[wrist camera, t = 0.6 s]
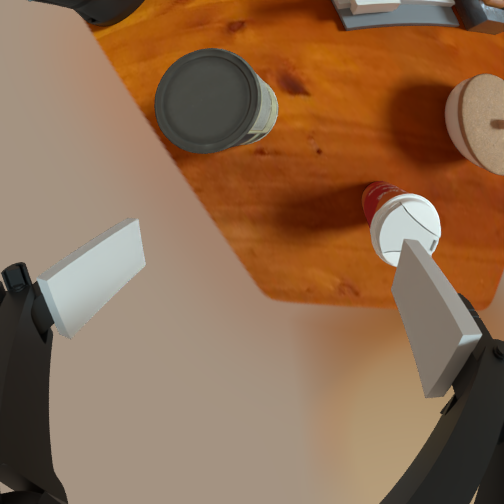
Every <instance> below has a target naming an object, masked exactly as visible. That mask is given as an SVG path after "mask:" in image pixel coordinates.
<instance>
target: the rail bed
mask: <svg viewBox="0 0 504 504" xmlns="http://www.w3.org/2000/svg"><path fill="white" fill-rule="evenodd" d="M331 1H332V3H333V5H334V7H335V9H336V11H337V13H338V15H339V17H340V19H341V21H342V23H343V25H344V27H345V29H346V31H350V30H357V29H366V28H376V27H389V26H448V27H458V26H459V23H458V20H457V18H456V16H455V14H454V12H453V10H452V8H451V7H452V6H453V5H454V4H455V2H454V0H400V2H401V4H400V5H399V6H398V8H397V9H396V10H394V11H393V12H377V13H364V14H355V15H353V14H352V12H351V10H350V8H351V3H350V1H349V0H331Z"/></svg>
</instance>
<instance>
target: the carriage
mask: <svg viewBox="0 0 504 504" xmlns="http://www.w3.org/2000/svg"><path fill="white" fill-rule="evenodd" d="M349 1H350V3H351V8H350V10H351V12H352V14H353V15H355V14H364V13H377V12H393V11H394V10H396V9H397V8H398V6H399V5H400V4H401V2H400V0H349Z"/></svg>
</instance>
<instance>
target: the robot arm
mask: <svg viewBox="0 0 504 504" xmlns="http://www.w3.org/2000/svg"><path fill="white" fill-rule="evenodd" d="M28 1H36V2H42V3H48V4H53V5H58V6H62V7H67V8H71V9H74V10H75V11H76V12H77V13H78V14H79V15H80V16H81V17H82V18H83V19H84V20H86V21H87V22H88V23H90V24H93V25H97V26H109V25H113V24H115V23H117V22H119V21H121V20H123V19H124V18H126V17H127V16H129V15H130V14H131V13H132V12H134V11H135V10H136V9H137V8H138V7H139V6H140V5H141V3H142V2H143V1H144V0H28ZM145 265H146V263H145V258H144V252H143V246H142V240H141V234H140V227H139V220H138V219H135V218H127V219H125V220H123V221H122V222H120V223H118V224H116V225H115V226H113V227H111V228H110V229H108V230H107V231H105V232H104V233H102V234H100V235H98V236H97V237H95V238H94V239H92V240H91V241H89V242H88V243H86V244H84V245H83V246H81V247H80V248H78V249H77V250H75V251H74V252H72V253H71V254H69V255H68V256H66V257H65V258H64V259H62V260H61V261H59V262H58V263H56V264H55V265H53V266H52V267H51V268H49V269H48V270H46V271H45V272H44V273H42V274H41V275H39V276H38V277H37V281H36V282H35V283H34V284H32V282H31V279H30V276H29V273H28V270H27V267H26V264H25V263H23V262H20V263H15V264H12V265H11V266H9V267H7V268H6V269H5V270H3V271H2V273H1V274H2V277H3V280H4V282H5V285H6V288H7V290H8V291H5V289H4V286H3V284H2V282H1V281H0V482H2V483H3V484H5V485H6V486H8V487H9V488H11V489H13V490H14V491H13V492H8V493H3V494H1V493H0V504H68V501H67V496H66V493H65V490H64V487H63V485H62V483H61V482H60V480H59V479H58V478H57V476H56V474H55V472H54V469H53V464H52V455H51V444H50V432H49V431H50V430H49V374H50V359H51V349H52V340H53V332H52V330H51V328H50V327H51V326H52V325H53V324H54V323H55V325H56V328H57V330H58V332H59V334H60V335H62V336H65V337H67V338H69V339H71V338H72V337H73V336H74V335H75V334H76V333H77V332H78V331H79V330H80V329H81V328H82V327H83V326H84V325H85V324H86V323H87V321H89V320H90V319H91V318H92V316H94V315H95V314H96V313H97V312H98V310H100V309H101V307H102V306H104V305H105V304H106V303H107V302H108V301H109V300H110V299H111V298H112V297H113V296H114V295H115V294H116V293H117V292H118V291H119V290H120V289H121V288H122V287H123V286H124V285H125V284H126V283H127V282H128V281H129V280H130V279H132V278H133V277H134V276H135V275H136V274H137V273H138V272H139V271H140V270H141V269H142V268H143V267H144V266H145ZM391 291H392V294H393V296H394V299H395V302H396V304H397V307H398V310H399V312H400V315H401V318H402V321H403V324H404V327H405V330H406V333H407V336H408V339H409V342H410V345H411V348H412V351H413V355H414V358H415V361H416V365H417V368H418V372H419V376H420V379H421V383H422V387H423V391H424V394H425V398H433V397H443V396H444V395H445V394H446V392H447V391H448V390H449V388H450V387H451V385H452V386H453V389H454V392H455V394H454V395H453V397H452V398H451V399H450V401H449V402H448V403H447V404H446V406H445V407H444V408H443V409H442V411H441V412H440V413H441V414H442V416H441V418H440V420H439V421H438V423H437V425H436V427H435V428H434V430H433V432H432V433H431V435H430V437H429V438H428V440H427V442H426V443H425V445H424V446H423V448H422V449H421V451H420V452H419V454H418V455H417V457H416V458H415V459H414V461H413V462H412V464H411V465H410V466H409V468H408V469H407V471H406V472H405V473H404V475H403V476H402V477H401V479H400V480H399V481H398V482H397V483H396V485H395V486H394V487H393V489H392V490H391V491H390V492H389V493H388V495H387V496H386V497H385V498H384V499H383V500H382V501H381V502H380V504H469V503H470V502H471V500H472V498H473V496H474V494H475V492H476V491H477V488H478V486H479V488H478V492H477V495H476V498H475V502H474V504H504V341H501V340H498V339H492V337H491V335H490V333H489V332H488V330H487V328H486V327H485V325H484V323H483V322H482V320H481V319H480V318H479V315H478V314H477V312H476V311H474V310H475V309H474V308H473V306H472V305H471V303H470V302H469V301H468V300H467V299H466V298H465V297H464V296H463V295H461V294H460V293H457V292H456V291H455V290H454V288H453V287H452V285H451V284H450V282H449V281H448V279H447V278H446V277H445V275H444V274H443V272H442V271H441V270H440V268H439V267H438V266H437V264H436V263H435V262H434V260H433V259H432V258H431V256H430V255H429V254H428V252H427V251H426V250H425V249H424V247H423V246H422V245H421V244H420V242H419V241H418V240H411V239H403V244H402V248H401V253H400V257H399V261H398V266H397V270H396V273H395V277H394V281H393V285H392V288H391ZM479 484H480V485H479Z"/></svg>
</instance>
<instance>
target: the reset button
mask: <svg viewBox="0 0 504 504" xmlns="http://www.w3.org/2000/svg"><path fill="white" fill-rule="evenodd" d="M482 1H483V2H484V4H485V6H489V7H493V8H497V9H501V8H503V7H504V0H482Z"/></svg>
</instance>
